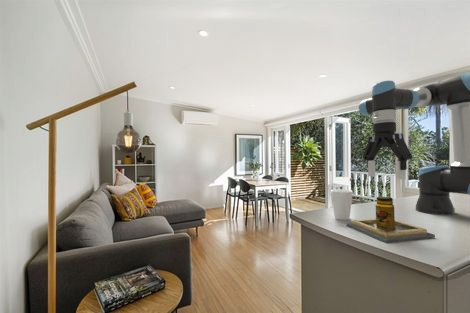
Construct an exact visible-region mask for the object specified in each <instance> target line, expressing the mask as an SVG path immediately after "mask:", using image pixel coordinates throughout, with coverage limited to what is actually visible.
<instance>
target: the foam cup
mask: <svg viewBox="0 0 470 313" xmlns="http://www.w3.org/2000/svg"><path fill="white" fill-rule="evenodd" d="M353 194H354V193H353V190H352V189H346V188H345V189H343V188H336V189H335V188H334V189H331V190H330V196H331V201H332V208H333V213H334V218H335V219H336V220H339V221H347V220H350V218H351V209H352V202H353Z"/></svg>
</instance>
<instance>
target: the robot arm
mask: <svg viewBox="0 0 470 313" xmlns="http://www.w3.org/2000/svg"><path fill="white" fill-rule="evenodd" d="M371 90H372V91H371V97H370V98H366V99H363V100H362V101H360V102H359V104H358V111H359V113H360V114H361V116H364V117H367V116H372V123H373V124H372V133H373V134H374V136H368V138H367V140H368V141H367V144H366V147H365V150H364V153H363V156H362V159H363V160H366V164H367V165H366V166H367V170H368V171H367V174H368V177H376V161H375V159H376V156H377V154H378V153H379V151H380V150H381V149H382V148H384V147H385V148H386V147H388V148H389V149H390V150H391V152H392V153H393V154H394V156H395V157H396V158H397V160H396V176H397V177H396V179H397V180H406V171H407V169H408V168H407V167H408V166H407V165H408V163H407V161H408V160H412V159H413V155H412V153H411V151H410V149H409V147H408V145H407V143H406V141H405V139H404V134H403V133H402V132H401V133H398V132H396V131H397V123H396V121H397V114H396V112H397V110H410V109H411V110H412V109H413V108H416V107H417V108H422V107H423V108H424V107H432V106H442V105H443V106H444V105H446V108H448V109H449V110H451V126H452V127H451V129H452V145H453V146H452V147H453V149H452V150H453V162H452V163H450V164H449V165H447V164H446V165H444V164H443V165H433V166H432V165H431V166H422V167H420V168H419V170H418V184H419V186H418V187H419V191H418V192H419V196H418V199H417V201H416V204H415V211H418V212H421V213H423V214H424V213H425V214H432V215H444V216H445V215H448V216H449V215H455V213H456V208H455V207H454V203H453V202H452V200H451V197H450V195H451V193H452V194H462V195H469V196H470V72H468V73H462V74H460V75H457V76H453V77H450V78H447V79H442V80H441V79H440V80H438V81H434V82H432V83H429V84H428V85H424V86H420V87H417V88H414V89H413V90H411V89H408V88H407V89H404V88H396V83H395V81H393V80H382V81H379V82H376V83H373V85H372V88H371Z"/></svg>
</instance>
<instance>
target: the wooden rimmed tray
mask: <svg viewBox="0 0 470 313" xmlns="http://www.w3.org/2000/svg"><path fill="white" fill-rule="evenodd" d="M374 224H376V218H368V219H367V218H366V219H365V218H364V219H357V220H356V219H355V220H354V219H353V220H351V222H349V223H346V224H345V226H346V227H347V228H350V229H353V230H355V231H358V232H360V233H362V234H365V235H367V236H369V237H371V238H374V239H376V240H379V241H381V242H384V243H386V244H387V243H397V242H405V241H406V242H407V241H414V240H415V241H416V240H424V239H435V238H436V235H435V234H434V233H430V232H428V229H427V228H423V227H420V226H416V225H412V224H410V223H406V222H402V221H399V220H396V219H395V227H396V228H397V230H398V231H383V230H380V229H377V228H375V227H374Z"/></svg>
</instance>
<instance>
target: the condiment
mask: <svg viewBox="0 0 470 313" xmlns="http://www.w3.org/2000/svg"><path fill="white" fill-rule="evenodd" d="M395 218H396V217H395V205H394V199H393V198H392V197H391V196H390V197H389V196H376V204H375V219H376V224H374V227H375V228H377V229H380V230H383V231H398V230H397V228H396V227H395V220H396V219H395Z"/></svg>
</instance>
